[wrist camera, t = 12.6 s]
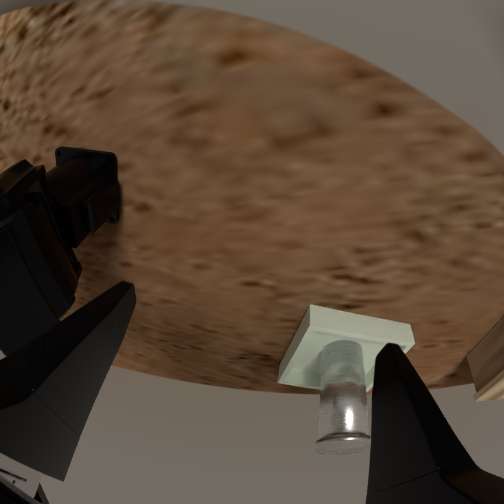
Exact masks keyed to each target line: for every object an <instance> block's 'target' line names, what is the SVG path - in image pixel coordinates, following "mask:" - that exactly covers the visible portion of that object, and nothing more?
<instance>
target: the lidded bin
mask: <svg viewBox="0 0 504 504" xmlns="http://www.w3.org/2000/svg"><path fill="white" fill-rule="evenodd" d="M466 357H467V360H468V363H469V367H470V370H471V373H472V377H473V381H474V384H475V388H476V392H477V393H476V394H475V395H473V398H474V401H484V400H495V399H504V316H503V317H502V318H501V319H500V320H499V321H498V323H497V324H496V325H495V326H494V327H493V328H492V329H491V331H490V332H489V333H488V334H487V335H486V336H485V337H484V338H483V339H482V340H481V341H480V343H479V344H478V345H477V346H476V347H475V348H474V349H473V350H472V351H471V352H470V353H469V354H468V355H467V356H466Z"/></svg>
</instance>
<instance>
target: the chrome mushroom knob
mask: <svg viewBox="0 0 504 504" xmlns="http://www.w3.org/2000/svg"><path fill="white" fill-rule="evenodd" d="M370 447H371V436H369V430H368V409H367V394H366V381H365V370H364V360H363V350H362V346H361V345H360V344H359V343H357V342H355V341H351V340H338V341H334V342H331V343H329V344H327V345H326V346H324V347H323V348H322V350H321V374H320V419H319V440H317V441H316V442H315V451H316V452H318V453H321V454H328V455H344V454H352V453H357V452H361V451H364V450H366V449H368V448H370Z"/></svg>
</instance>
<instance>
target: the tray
mask: <svg viewBox="0 0 504 504" xmlns="http://www.w3.org/2000/svg"><path fill="white" fill-rule="evenodd" d="M338 340H351V341H355V342H357V343H359V344H360V345H361V346H362V350H363V360H364V370H365V381H366V393H367V392H368V391H369V390H370V389H371V388H372V387H373V380H374V368H375V358H376V356H377V354H378V353H379V352H380V351H381V349H382V348H383V347H384V346H385V345H386V344H387V343H396V344H398V345H399V346H400V347H401V349H402V350H403V352H404V353H405V354H406V353H407V351H408V350H409V349H410V348H411V347H412V346H413V345H414V344H415V342H414V338H413V334H412V330H411V326H410V324H406V323H401V322H395V321H390V320H385V319H380V318H374V317H369V316H364V315H359V314H354V313H349V312H344V311H340V310H335V309H330V308H325V307H321V306H316V305H311V304H310V306H309V308H308V310H307V312H306V314H305V316H304V318H303V320H302V322H301V324H300V326H299V328H298V330H297V332H296V334H295V336H294V338H293V340H292V342H291V344H290V346H289V348H288V350H287V352H286V354H285V355H284V357H283V359H282V361H281V363H280V365H279V373H278V382H277V383H281V384H287V385H293V386H299V387H305V388H312V389H319V390H320V374H321V350H322V348H323V347H324V346H326V345H327V344H329V343H331V342H334V341H338Z"/></svg>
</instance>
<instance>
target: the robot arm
mask: <svg viewBox="0 0 504 504" xmlns="http://www.w3.org/2000/svg"><path fill="white" fill-rule="evenodd" d="M60 152H61V153H60ZM55 157H56V167H54V168H53V169H51V170H50V171H48V172H47V173H46V170H45V167H44V165H40V166H36V167H35V166H34V167H33V165H31V164H30V163H29V162H28V161H27V160H26V159H24V160H21V161H19V162H17V163H16V164H14V165H13V166H11V167H10V168H8V169H7V170H5V171H4V172H3V173H2V174H1V175H0V350H1V351H2V352H3V354H4V355H5V356H6V357H5V358H3V359H1V360H0V504H49V502H48V500H47V498H46V496H45V493H44V491H43V489H42V487H41V484H40V479H41V477H42V474H45V475H48V476H50V477H53V478H56V479H58V480H61V481H64V479H65V477H66V474H67V471H68V468H69V465H70V462H71V460H72V457H73V454H74V452H75V449H76V447H77V444H78V441H79V439H80V436H81V433H82V431H83V428H84V426H85V423H86V421H87V419H88V416H89V414H90V412H91V409H92V407H93V404H94V402H95V400H96V397H97V395H98V393H99V391H100V388H101V386H102V384H103V382H104V379H105V377H106V375H107V373H108V371H109V369H110V366H111V364H112V362H113V360H114V358H115V356H116V354H117V352H118V350H119V348H120V345H121V343H122V341H123V338H124V335H125V332H126V329H127V327H128V324H129V321H130V318H131V316H132V313H133V310H134V308H135V304H136V295H135V287H134V285H133V284H132V283H129V282H126V281H121V282H120V283H118V284H117V285H115V286H113V287H112V288H110V289H109V290H107V291H106V292H104V293H103V294H101V295H100V296H98V297H96V298H95V299H93V300H92V301H90V302H89V303H87V304H86V305H84V306H83V307H81V308H80V309H78V310H77V311H75V312H74V313H72V314H71V315H69V316H68V317H66V318H65V319H64V320H62V321H61V322H60V319H61V318H62V317H63V316H64V315H65V314H66V312H67V311H68V310H69V309H70V308H71V306H72V305H73V303H74V301H75V299H76V298H75V296H74V294H75V291H76V288H77V285H78V280H79V277H80V274H81V271H82V266H81V264H80V262H78V260H77V258H76V256H75V254H74V251H73V249H72V247H73V248H77V247H78V246H79V245H80V243H81V242H82V241H83V240H84V239H85V238H86V237H87V236H88V235H89V234H90V233H91V234H93V233H95V232H96V231H97V230H98V228H99V227H100V226H101V225H102V224H103V223H104V222H106V223H110V224H116V223H117V221H118V220H119V212H118V208H119V196H118V181H117V166H116V156H115V154H114V153H111V152H104V151H97V150H88V149H80V148H71V147H59V148H57V149H56V151H55ZM109 157H110V158H111V161H110V160H109ZM112 217H113V218H114V219H113V218H112ZM366 504H504V479H503V478H501V477H498V476H496V475H493V474H491V473H488V472H486V471H484V470H482V469H480V468H479V467H478V466H477V465H476V464H475V463H474V461H473V460H472V458H471V457H470V455H469V454H468V452H467V451H466V449H465V448H464V447H463V445H462V444H461V442H460V441H459V439H458V438H457V436H456V435H455V433H454V432H453V430H452V428H451V427H450V425H449V423H448V422H447V420H446V418H445V417H444V415H443V414H442V412H441V410H440V408H439V407H438V405H437V404H436V402H435V400H434V399H433V397H432V395H431V394H430V392H429V390H428V389H427V387H426V386H425V384H424V383H423V381H422V379H421V378H420V376H419V375H418V373H417V372H416V370H415V369H414V367H413V366H412V364H411V362H410V361H409V359H408V358H407V356H406V355H405V353H404V352H403V350H402V349H401V347H400V346H399V345H398V344H396V343H387V344H386V345H385V346H384V347H383V348H382V349H381V351H380V352H379V353H378V354H377V356H376V358H375V368H374V380H373V390H372V426H371V450H370V466H369V478H368V489H367V496H366Z"/></svg>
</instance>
